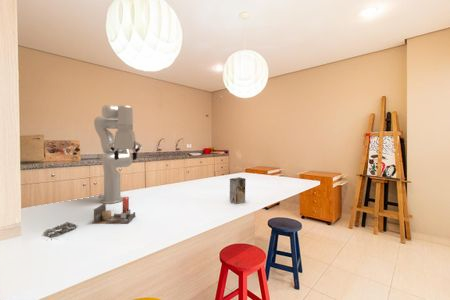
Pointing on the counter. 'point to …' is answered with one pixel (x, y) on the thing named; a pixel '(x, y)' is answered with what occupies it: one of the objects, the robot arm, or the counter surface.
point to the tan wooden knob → (106, 215)
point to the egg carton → (64, 230)
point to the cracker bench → (114, 219)
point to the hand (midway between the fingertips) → (125, 159)
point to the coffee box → (237, 190)
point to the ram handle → (125, 208)
